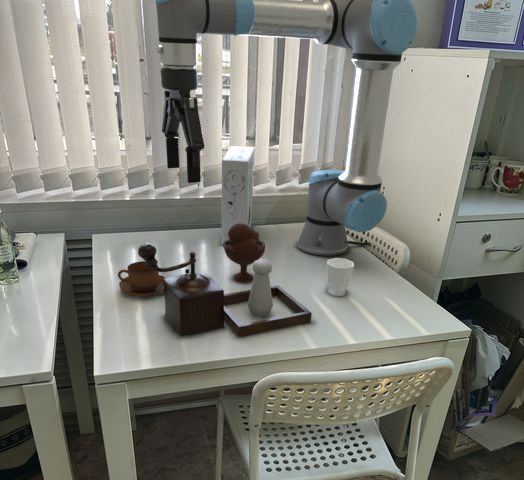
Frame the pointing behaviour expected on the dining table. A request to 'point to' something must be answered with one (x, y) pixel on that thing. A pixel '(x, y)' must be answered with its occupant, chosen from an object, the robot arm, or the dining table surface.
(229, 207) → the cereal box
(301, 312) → the tray
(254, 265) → the salt shaker
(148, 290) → the cup and saucer
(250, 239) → the ice cream bowl
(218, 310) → the manual coffee grinder
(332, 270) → the cup
